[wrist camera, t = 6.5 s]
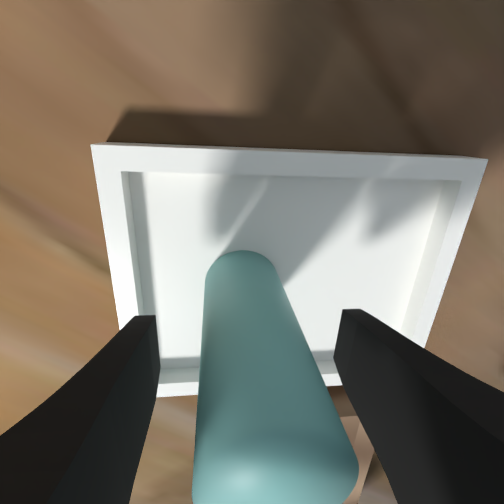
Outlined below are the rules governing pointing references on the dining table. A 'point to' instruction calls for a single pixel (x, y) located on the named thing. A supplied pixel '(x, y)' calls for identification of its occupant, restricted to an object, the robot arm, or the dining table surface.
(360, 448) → the rack
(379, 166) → the tray
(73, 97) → the dining table surface
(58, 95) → the dining table surface
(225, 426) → the teal dowel
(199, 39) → the dining table surface
